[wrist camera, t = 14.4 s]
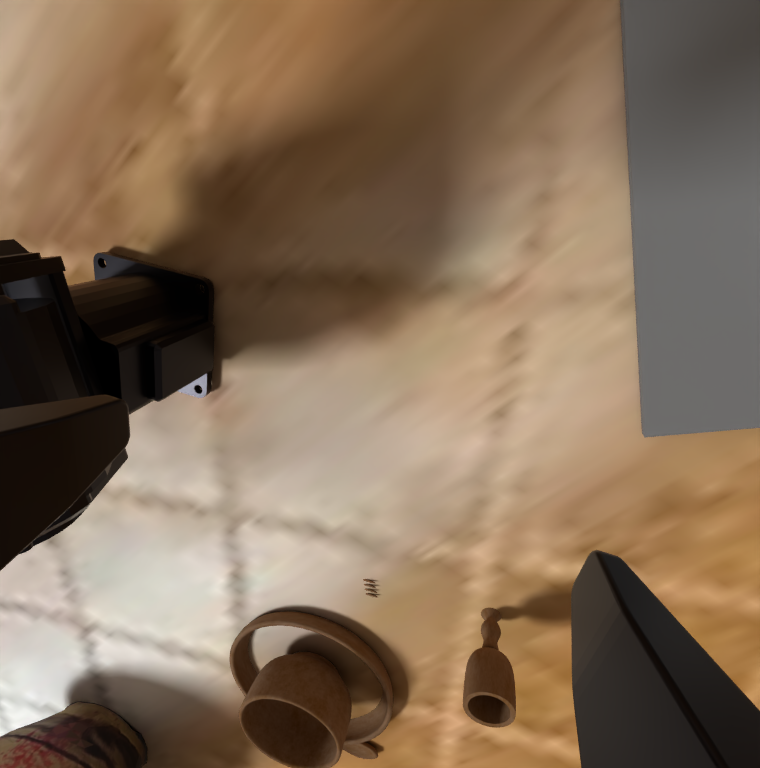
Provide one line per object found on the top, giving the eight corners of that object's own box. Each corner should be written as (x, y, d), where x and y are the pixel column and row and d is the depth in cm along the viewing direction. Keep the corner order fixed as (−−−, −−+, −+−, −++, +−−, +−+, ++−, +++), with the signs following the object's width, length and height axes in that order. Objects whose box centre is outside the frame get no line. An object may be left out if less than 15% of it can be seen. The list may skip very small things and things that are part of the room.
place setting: (212, 559, 31) (152, 634, 25) (515, 583, 25) (518, 685, 20) (270, 727, 37) (231, 816, 31) (524, 776, 31) (529, 894, 26)
